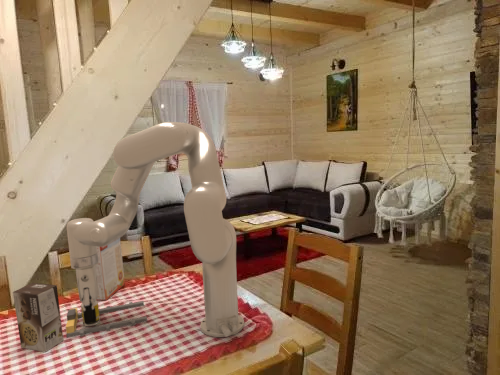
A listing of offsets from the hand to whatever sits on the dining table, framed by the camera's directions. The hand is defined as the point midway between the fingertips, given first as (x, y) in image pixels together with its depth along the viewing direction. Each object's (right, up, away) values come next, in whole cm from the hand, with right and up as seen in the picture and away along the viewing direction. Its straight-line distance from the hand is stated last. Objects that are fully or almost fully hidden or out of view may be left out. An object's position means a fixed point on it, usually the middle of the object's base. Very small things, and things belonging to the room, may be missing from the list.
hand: (91, 317), depth 112 cm
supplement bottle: (0, -2, 0) cm, 2 cm away
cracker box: (-3, +1, +22) cm, 23 cm away
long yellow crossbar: (-5, -2, -1) cm, 5 cm away
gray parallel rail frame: (+5, -1, +2) cm, 5 cm away
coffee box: (-9, -4, -10) cm, 14 cm away
